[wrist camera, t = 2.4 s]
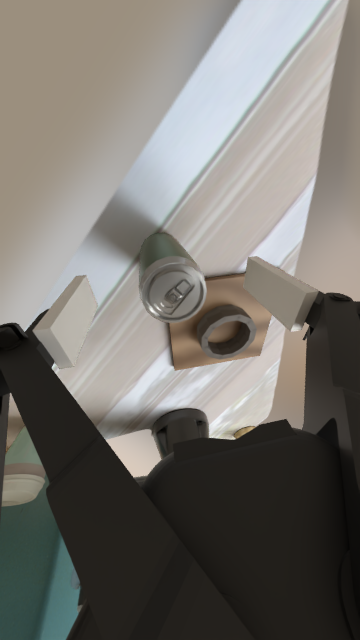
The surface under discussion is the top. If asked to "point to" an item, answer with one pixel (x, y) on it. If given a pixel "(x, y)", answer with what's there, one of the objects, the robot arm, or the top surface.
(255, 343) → the collar holder
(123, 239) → the top surface
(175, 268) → the beer can
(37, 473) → the coffee cup
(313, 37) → the top surface
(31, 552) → the flower pot
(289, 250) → the top surface
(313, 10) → the top surface
